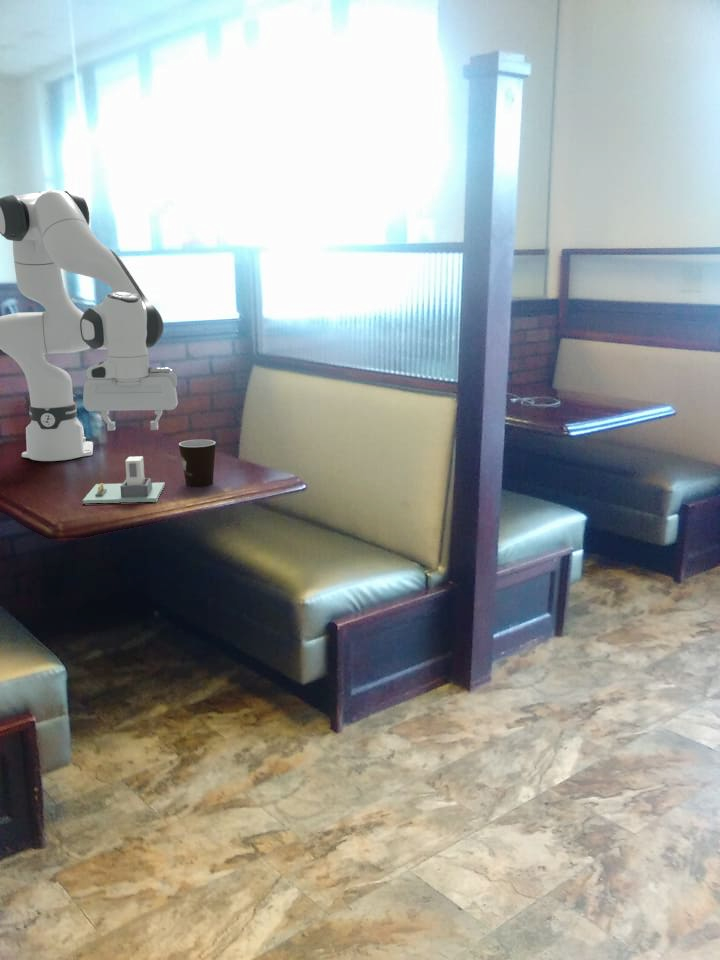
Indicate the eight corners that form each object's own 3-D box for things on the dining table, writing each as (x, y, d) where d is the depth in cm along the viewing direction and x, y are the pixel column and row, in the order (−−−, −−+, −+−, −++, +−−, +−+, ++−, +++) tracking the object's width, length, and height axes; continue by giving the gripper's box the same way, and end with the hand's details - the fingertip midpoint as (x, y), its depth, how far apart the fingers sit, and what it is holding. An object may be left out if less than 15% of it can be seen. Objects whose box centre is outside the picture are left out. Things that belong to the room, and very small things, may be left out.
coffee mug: (216, 488, 206) (214, 446, 203) (179, 489, 205) (176, 447, 203) (219, 476, 217) (217, 436, 215) (184, 476, 216) (182, 437, 214)
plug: (131, 490, 200) (128, 456, 198) (145, 490, 200) (143, 456, 198) (127, 496, 195) (124, 461, 193) (141, 496, 196) (139, 461, 194)
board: (96, 488, 206) (95, 473, 206) (164, 486, 208) (164, 472, 207) (83, 504, 193) (81, 489, 192) (156, 502, 194) (155, 487, 193)
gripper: (178, 365, 195) (181, 425, 199) (84, 366, 194) (90, 427, 197) (175, 369, 189) (178, 431, 193) (78, 370, 188) (84, 433, 191)
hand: (133, 429), depth 195 cm, fingers open, 8 cm apart
